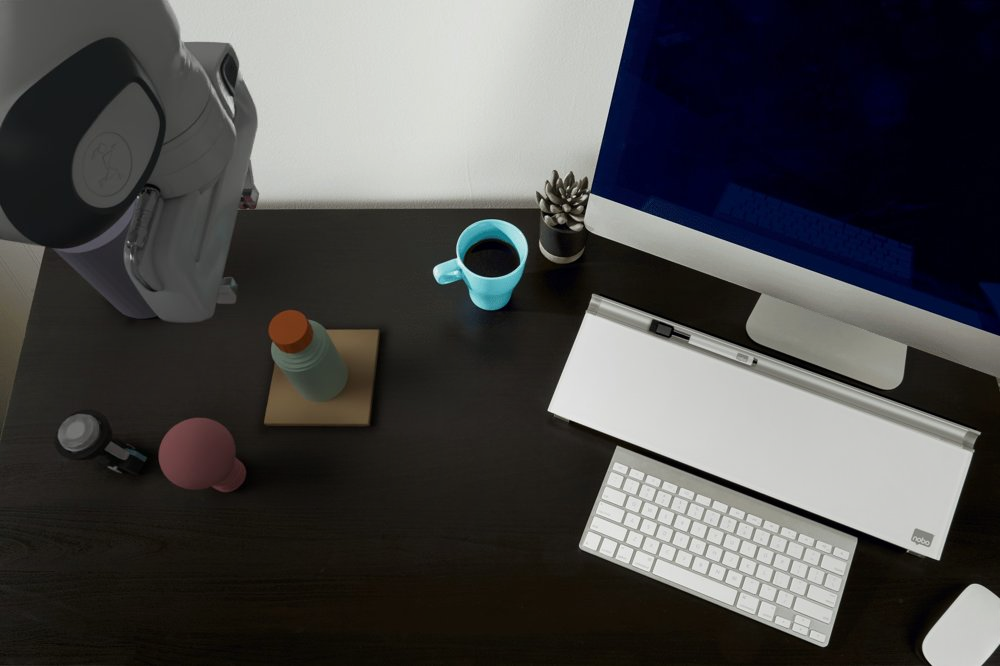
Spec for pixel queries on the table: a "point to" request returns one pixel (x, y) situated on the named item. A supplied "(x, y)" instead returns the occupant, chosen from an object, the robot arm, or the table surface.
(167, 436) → the light bulb
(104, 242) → the container
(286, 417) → the coaster
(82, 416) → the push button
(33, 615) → the table surface
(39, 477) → the table surface
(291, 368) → the bottle
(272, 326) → the cap
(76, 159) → the robot arm
